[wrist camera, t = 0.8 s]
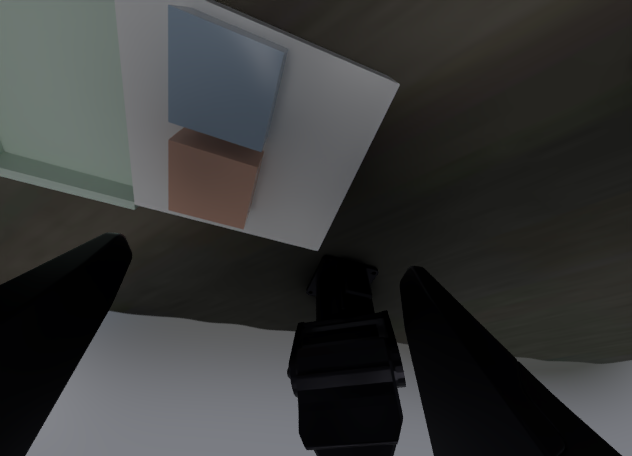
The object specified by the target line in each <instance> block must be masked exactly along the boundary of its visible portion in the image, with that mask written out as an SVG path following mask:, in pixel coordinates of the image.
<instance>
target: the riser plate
mask: <svg viewBox="0 0 632 456" xmlns="http://www.w3.org/2000/svg"><path fill="white" fill-rule="evenodd" d="M114 2H115V12H116V22H117V32H118V42H119V53H120V63H121V73H122V83H123V93H124V103H125V113H126V123H127V133H128V143H129V153H130V163H131V173H132V184H133V194H134V204H135V205H138V206H142V207H146V208H150V209H154V210H158V211H162V212H166V213H170V214H174V215H177V216H181V217H185V218H189V219H193V220H197V221H201V222H205V223H209V224H213V225H217V226H221V227H225V228H228V229H232V230H236V231H240V232H244V233H248V234H252V235H256V236H260V237H264V238H268V239H272V240H276V241H279V242H283V243H287V244H291V245H295V246H299V247H303V248H307V249H311V250H315V251H318V250H319V248H320V246H321V244H322V242H323V240H324V238H325V236H326V234H327V232H328V230H329V228H330V226H331V224H332V222H333V219H334V217H335V215H336V213H337V211H338V209H339V207H340V205H341V203H342V201H343V199H344V197H345V195H346V193H347V191H348V189H349V187H350V185H351V183H352V181H353V179H354V177H355V175H356V173H357V171H358V169H359V167H360V165H361V163H362V161H363V159H364V157H365V155H366V153H367V151H368V149H369V146H370V144H371V142H372V140H373V138H374V136H375V134H376V132H377V130H378V128H379V126H380V124H381V122H382V120H383V118H384V116H385V114H386V112H387V110H388V108H389V106H390V104H391V102H392V100H393V98H394V96H395V94H396V92H397V90H398V88H399V86H400V84H399V83H398V82H396V81H395V80H393V79H392V78H391V77H389V76H388V75H385V74H383V73H381V72H378V71H376V70H374V69H371V68H369V67H367V66H364V65H362V64H360V63H358V62H355V61H353V60H351V59H348V58H346V57H344V56H341V55H339V54H337V53H334V52H332V51H330V50H328V49H325V48H323V47H321V46H318V45H316V44H314V43H311V42H309V41H307V40H304V39H302V38H300V37H298V36H295V35H293V34H291V33H288V32H286V31H284V30H281V29H279V28H277V27H275V26H272V25H270V24H268V23H265V22H263V21H261V20H258V19H256V18H254V17H251V16H249V15H247V14H245V13H242V12H240V11H238V10H235V9H233V8H231V7H228V6H226V5H224V4H221V3H219V2H217V1H215V0H114ZM168 5H176V6H184V7H191V8H194V9H196V10H198V11H201V12H203V13H205V14H208V15H210V16H213V17H215V18H217V19H220V20H222V21H224V22H227V23H229V24H232V25H234V26H236V27H239V28H241V29H243V30H246V31H248V32H251V33H253V34H255V35H258V36H260V37H263V38H265V39H267V40H270V41H272V42H274V43H277V44H279V45H282V46H284V47H286V48H289V49H288V53H287V58H286V62H285V66H284V70H283V74H282V79H281V83H280V87H279V91H278V96H277V100H276V104H275V108H274V112H273V117H272V121H271V125H270V129H269V134H268V137H267V140H266V142H265V145H264V147H263V150H262V151H264V155H263V159H262V163H261V167H260V171H259V176H258V180H257V184H256V188H255V193H254V197H253V201H252V205H251V209H250V212H249V215H248V218H247V221H246V224H245V227H244V229H240V228H236V227H232V226H228V225H224V224H220V223H216V222H212V221H209V220H205V219H201V218H197V217H193V216H189V215H185V214H181V213H177V212H174V211H170V210H168V140H169V139H170V138H171V137H172V136H174V135H175V134H176V133H177V132H179V131H180V130H181V129H182V128H184V127H182V126H179V125H176V124H173V123H170V122H168Z"/></svg>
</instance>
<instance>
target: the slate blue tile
mask: <svg viewBox="0 0 632 456" xmlns="http://www.w3.org/2000/svg"><path fill="white" fill-rule="evenodd" d="M288 49H289V48H286V47H284V46H282V45H279V44H277V43H274V42H272V41H270V40H267V39H265V38H263V37H260V36H258V35H255V34H253V33H251V32H248V31H246V30H243V29H241V28H239V27H236V26H234V25H232V24H229V23H227V22H224V21H222V20H220V19H217V18H215V17H213V16H210V15H208V14H205V13H203V12H201V11H198V10H196V9H194V8H191V7H184V6H176V5H168V122H170V123H173V124H176V125H179V126H182V127H185V128H188V129H191V130H194V131H197V132H200V133H204V134H207V135H210V136H213V137H216V138H219V139H222V140H225V141H228V142H231V143H234V144H237V145H240V146H244V147H247V148H250V149H253V150H256V151H259V152H262V150H263V147H264V145H265V142H266V140H267V137H268V134H269V129H270V125H271V121H272V117H273V112H274V108H275V104H276V100H277V96H278V91H279V87H280V83H281V79H282V74H283V70H284V66H285V62H286V58H287V53H288Z"/></svg>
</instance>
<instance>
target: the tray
mask: <svg viewBox="0 0 632 456" xmlns="http://www.w3.org/2000/svg"><path fill="white" fill-rule="evenodd" d="M0 176H2V177H6V178H10V179H14V180H17V181H21V182H25V183H29V184H33V185H37V186H41V187H45V188H49V189H53V190H57V191H61V192H65V193H69V194H73V195H77V196H81V197H85V198H89V199H93V200H97V201H101V202H105V203H109V204H113V205H117V206H121V207H125V208H129V209H133V210H135V209H136V208H137V207H138V205H135V204H134V194H133V184H132V173H131V163H130V153H129V143H128V133H127V123H126V113H125V103H124V93H123V83H122V73H121V63H120V53H119V42H118V32H117V22H116V12H115V2H114V0H0Z"/></svg>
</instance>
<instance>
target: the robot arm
mask: <svg viewBox="0 0 632 456" xmlns="http://www.w3.org/2000/svg"><path fill="white" fill-rule="evenodd" d="M131 260H132V252H131V249H130V247H129V245H128V242H127V240H126V237H125V236H124V235H123V234H119V233H105V234H102V235H100V236H98V237H96V238H94V239H92V240H90V241H88V242H86V243H84V244H82V245H80V246H78V247H76V248H74V249H72V250H70V251H68V252H66V253H64V254H62V255H60V256H58V257H56V258H54V259H52V260H50V261H48V262H46V263H44V264H42V265H40V266H38V267H36V268H34V269H32V270H30V271H28V272H26V273H24V274H22V275H20V276H18V277H15V278H13V279H11V280H9V281H7V282H5V283H3V284H1V285H0V456H25V455H26V454H27V452H28V450H29V448H30V447H31V445H32V443H33V441H34V440H35V438H36V436H37V434H38V433H39V431H40V429H41V428H42V426H43V424H44V422H45V421H46V419H47V417H48V415H49V414H50V412H51V410H52V408H53V407H54V405H55V403H56V402H57V400H58V398H59V396H60V395H61V393H62V391H63V389H64V388H65V386H66V384H67V382H68V381H69V379H70V377H71V375H72V374H73V371H74V370H75V368H76V367H77V365H78V363H79V361H80V359H81V358H82V356H83V355H84V353H85V351H86V349H87V348H88V346H89V344H90V342H91V341H92V339H93V337H94V335H95V334H96V332H97V330H98V329H99V327H100V325H101V323H102V321H103V319H104V318H105V316H106V315H107V313H108V311H109V309H110V307H111V305H112V303H113V301H114V299H115V297H116V295H117V292H118V290H119V288H120V285H121V283H122V281H123V278H124V276H125V274H126V271H127V269H128V267H129V265H130V262H131ZM326 260H328V261H326ZM377 275H378V269H377V268H375V267H371V266H367V265H363V264H359V263H355V262H351V261H347V260H343V259H339V258H335V257H331V256H324V257H323V258H322V260H321V262H320V264H319V266H318V268H317V270H316V272H315V274H314V276H313V278H312V279H311V281H310V283H309V285H308V287H307V289H306V293H307V294H308V295H312V296H316V321H314V322H307V323H304V322H300V323H298V326H297V330H296V332H295V337H294V341H293V346H292V351H291V356H290V360H289V367H288V370H287V374H288V377H289V378H290V379H291V384H292V389H293V392H294V394H295V396H296V397H298V408H299V434H300V437H301V439H302V442H303V444H304V446H305V448H306V449H307V450H314V451H315V453H316V455H317V456H393V455H394V451H395V448H396V444H397V443H398V440H399V435H400V431H401V426H402V422H403V414H402V409H401V404H400V399H399V394H398V389H397V388H399V387H406V382H405V376H404V371H403V366H402V362H401V357H400V353H399V349H398V346H397V342H396V339H395V335H394V332H393V328H392V325H391V321H390V318H389V315H388V311H387V310H386V311H382V312H379V313H375V312H374V307H373V302H372V293H371V288H370V284H371V283H372V281H373V280H374V279H375V277H376V276H377ZM400 293H401V301H402V310H403V318H404V326H405V332H406V336H407V341H408V345H409V349H410V354H411V358H412V362H413V366H414V371H415V375H416V380H417V384H418V388H419V392H420V397H421V401H422V406H423V410H424V414H425V419H426V423H427V428H428V432H429V436H430V441H431V445H432V449H433V453H434V456H622V455H620V454H619V453H618V452H617V451H616V450H615V449H614V448H613V447H611V446H610V445H609V444H608V443H607V442H606V441H605V440H604V439H602V438H601V437H600V436H599V435H598V434H597V433H596V432H594V431H593V430H592V429H591V428H590V427H589V426H588V425H587V424H585V423H584V422H583V421H582V420H581V419H580V418H579V417H577V416H576V415H575V414H574V413H573V412H572V411H571V410H570V409H569V408H567V407H566V406H565V405H564V404H563V403H562V402H561V401H560V400H559V399H558V398H557V397H555V396H554V395H553V394H552V393H551V392H550V391H549V390H548V389H547V388H546V387H545V386H544V385H543V384H542V383H541V382H540V381H538V380H537V379H536V378H535V377H534V376H533V375H532V374H531V373H530V372H529V371H528V370H527V369H526V368H525V367H524V366H523V365H522V364H521V363H520V362H517V359H516V358H515V357H514V356H513V355H512V354H511V353H510V352H509V351H508V350H507V349H506V348H505V347H504V346H503V345H502V344H501V343H500V342H499V341H498V340H497V339H496V338H494V337H493V336H492V335H491V334H490V333H489V332H488V331H487V330H486V329H485V328H484V327H483V326H482V325H481V324H480V323H479V322H478V321H477V320H476V319H475V318H474V317H473V316H472V315H471V314H470V313H469V312H468V311H467V310H466V309H465V308H464V307H463V306H462V305H461V304H460V303H459V302H458V301H457V300H456V299H455V298H454V297H453V296H452V295H451V294H450V293H449V292H448V291H447V290H446V289H445V288H444V287H443V286H442V285H441V284H440V283H439V282H438V281H437V280H436V279H435V278H433V277H432V276H431V275H430V274H429V273H428V272H427V271H426V270H425V269H424V268H423V267H419V266H410V267H409V268H408V269H407V271H406V273H405V274H404V276H403V278H402V279H401V282H400Z"/></svg>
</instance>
